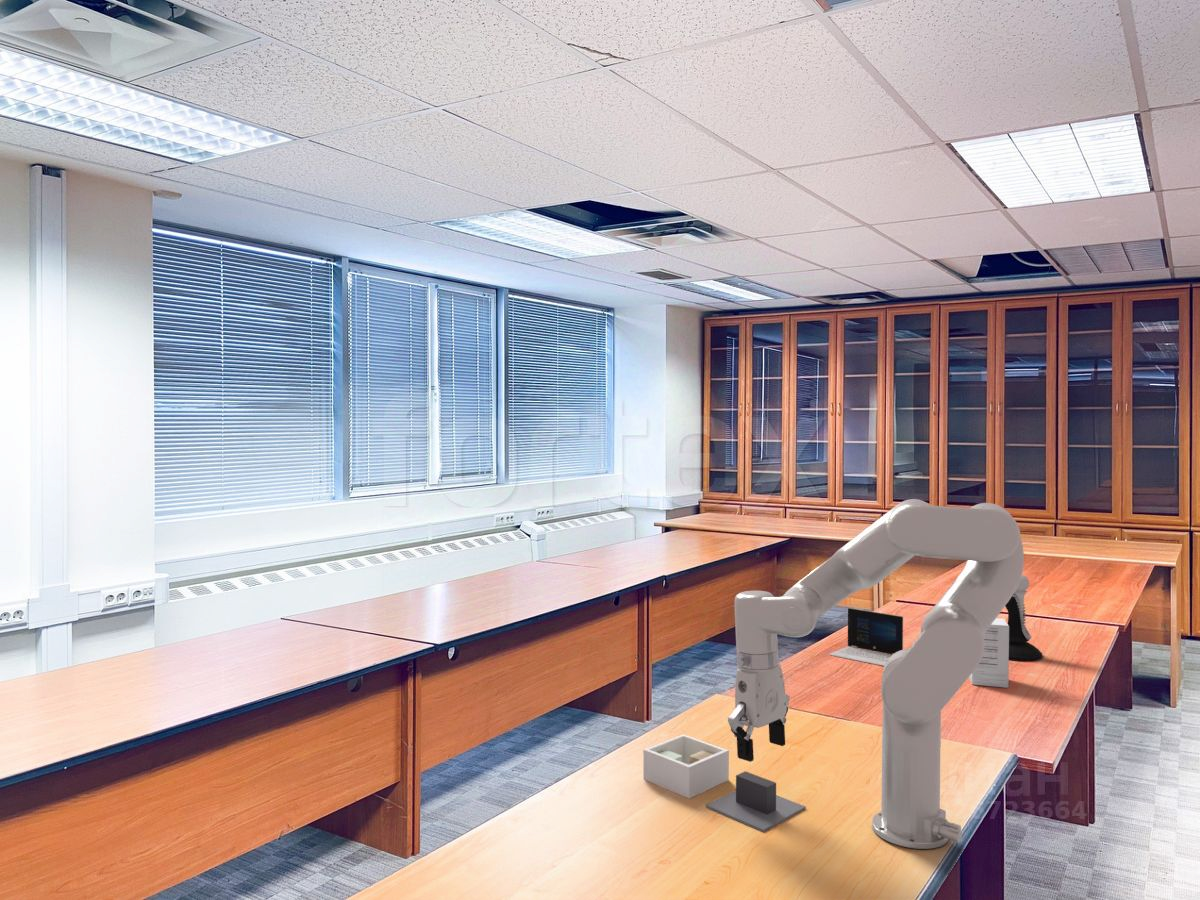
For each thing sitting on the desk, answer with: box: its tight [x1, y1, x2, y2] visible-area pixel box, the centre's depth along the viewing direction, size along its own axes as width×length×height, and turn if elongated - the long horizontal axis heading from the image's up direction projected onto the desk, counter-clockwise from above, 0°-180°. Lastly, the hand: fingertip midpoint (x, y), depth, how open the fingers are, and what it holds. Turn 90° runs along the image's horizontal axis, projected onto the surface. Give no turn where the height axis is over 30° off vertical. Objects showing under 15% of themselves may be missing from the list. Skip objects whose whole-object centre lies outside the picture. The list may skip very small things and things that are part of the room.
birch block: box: [690, 751, 713, 764], centre depth 169 cm, size 4×4×4 cm
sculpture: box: [1000, 573, 1043, 662], centre depth 261 cm, size 15×24×25 cm, turn 49°
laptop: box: [828, 607, 904, 667], centre depth 257 cm, size 18×12×13 cm
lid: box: [705, 770, 807, 833], centre depth 156 cm, size 13×13×6 cm
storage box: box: [643, 733, 730, 799], centre depth 169 cm, size 12×12×6 cm
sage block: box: [659, 750, 683, 762], centre depth 169 cm, size 4×4×4 cm
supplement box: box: [969, 617, 1010, 689], centre depth 231 cm, size 10×9×17 cm
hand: (761, 751), depth 156 cm, fingers open, 9 cm apart
